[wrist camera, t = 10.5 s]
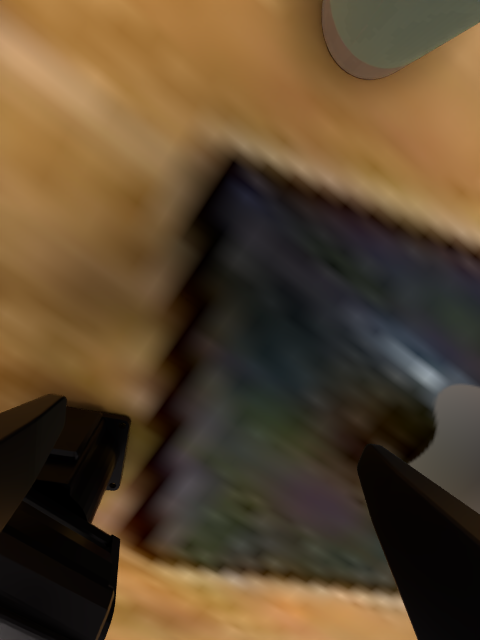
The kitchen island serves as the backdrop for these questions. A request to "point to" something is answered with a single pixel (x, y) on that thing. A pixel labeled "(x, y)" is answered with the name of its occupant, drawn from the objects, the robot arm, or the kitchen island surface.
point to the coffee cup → (391, 31)
